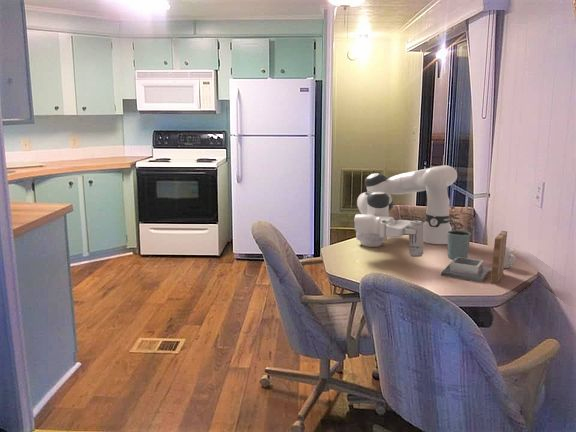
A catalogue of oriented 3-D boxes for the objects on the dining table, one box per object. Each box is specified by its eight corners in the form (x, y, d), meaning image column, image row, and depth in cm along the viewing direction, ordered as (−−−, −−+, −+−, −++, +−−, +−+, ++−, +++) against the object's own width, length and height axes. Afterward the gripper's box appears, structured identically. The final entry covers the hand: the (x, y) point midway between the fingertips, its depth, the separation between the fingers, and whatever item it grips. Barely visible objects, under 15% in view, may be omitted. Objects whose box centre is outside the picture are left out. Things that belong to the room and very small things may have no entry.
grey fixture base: (452, 265, 226) (452, 253, 225) (490, 271, 218) (491, 259, 217) (440, 275, 211) (441, 263, 210) (482, 282, 203) (483, 270, 202)
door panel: (497, 273, 215) (502, 230, 212) (502, 273, 214) (507, 231, 211) (490, 283, 202) (494, 238, 198) (496, 284, 201) (500, 239, 197)
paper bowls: (362, 239, 269) (363, 224, 267) (390, 243, 261) (391, 228, 259) (350, 245, 256) (351, 230, 254) (379, 250, 248) (380, 234, 247)
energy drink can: (406, 256, 223) (406, 222, 221) (413, 253, 228) (413, 219, 225) (419, 257, 219) (419, 223, 217) (426, 255, 224) (425, 220, 221)
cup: (520, 270, 219) (522, 252, 218) (505, 272, 217) (507, 253, 215) (503, 263, 229) (505, 246, 228) (488, 264, 227) (489, 247, 225)
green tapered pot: (469, 261, 231) (472, 235, 229) (446, 260, 233) (448, 234, 231) (466, 255, 241) (469, 230, 239) (444, 254, 243) (446, 229, 241)
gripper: (395, 229, 238) (425, 232, 231) (379, 237, 220) (410, 242, 213) (396, 215, 236) (426, 219, 229) (379, 223, 219) (411, 227, 212)
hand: (418, 230), depth 221 cm, fingers closed on energy drink can, 6 cm apart
